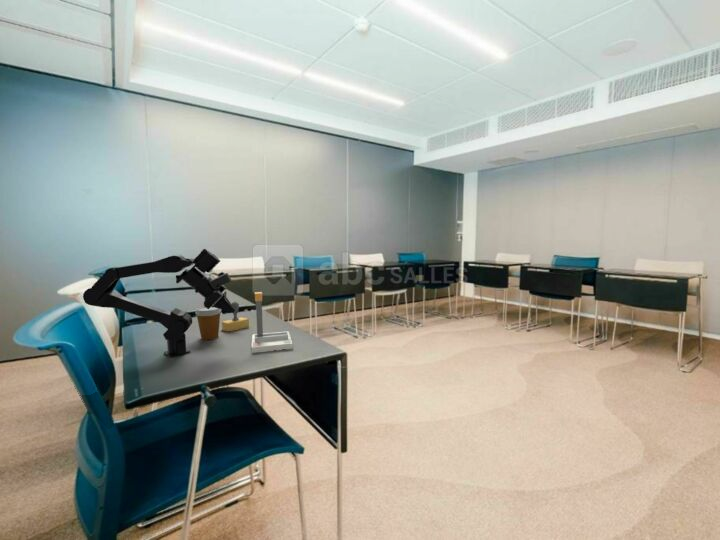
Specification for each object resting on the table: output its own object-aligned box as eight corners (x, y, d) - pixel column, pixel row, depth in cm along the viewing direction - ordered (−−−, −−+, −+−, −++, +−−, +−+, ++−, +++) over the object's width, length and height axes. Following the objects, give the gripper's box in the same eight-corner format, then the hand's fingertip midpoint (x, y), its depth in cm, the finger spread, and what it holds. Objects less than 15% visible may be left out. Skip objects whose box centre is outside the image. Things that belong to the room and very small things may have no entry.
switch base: (251, 352, 116) (251, 342, 115) (252, 339, 131) (252, 330, 131) (292, 348, 120) (292, 339, 120) (288, 336, 135) (288, 327, 135)
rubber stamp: (228, 332, 141) (227, 304, 140) (221, 329, 145) (220, 302, 144) (249, 327, 149) (248, 300, 148) (242, 324, 153) (241, 299, 151)
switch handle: (256, 340, 122) (254, 293, 120) (256, 338, 125) (254, 292, 123) (263, 340, 123) (262, 293, 121) (263, 337, 126) (262, 291, 124)
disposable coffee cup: (222, 339, 131) (220, 309, 130) (195, 342, 128) (193, 311, 126) (222, 333, 140) (221, 305, 139) (197, 335, 136) (196, 307, 135)
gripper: (212, 268, 108) (249, 299, 113) (219, 263, 126) (250, 290, 130) (187, 293, 107) (225, 323, 111) (197, 285, 125) (230, 311, 129)
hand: (234, 311), depth 120 cm, fingers closed
